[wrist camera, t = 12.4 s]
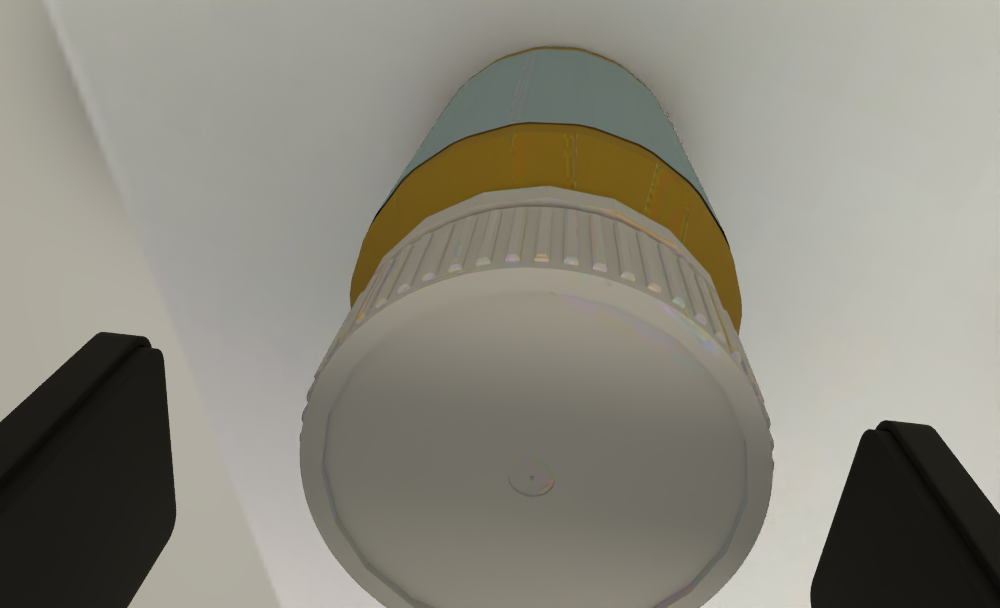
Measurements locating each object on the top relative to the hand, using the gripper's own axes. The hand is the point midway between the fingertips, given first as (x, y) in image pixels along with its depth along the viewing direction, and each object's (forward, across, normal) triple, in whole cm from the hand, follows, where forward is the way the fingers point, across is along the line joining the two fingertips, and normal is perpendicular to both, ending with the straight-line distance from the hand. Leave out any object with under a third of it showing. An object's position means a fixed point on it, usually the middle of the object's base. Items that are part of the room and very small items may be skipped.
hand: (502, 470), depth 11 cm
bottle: (+15, -1, 0) cm, 15 cm away
